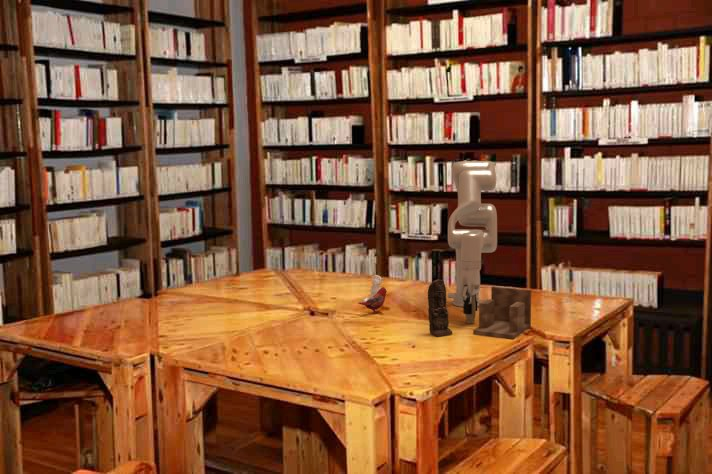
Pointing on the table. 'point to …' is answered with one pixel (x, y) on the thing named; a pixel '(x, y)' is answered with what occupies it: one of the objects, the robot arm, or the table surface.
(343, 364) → the table surface
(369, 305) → the decorative bird figurine
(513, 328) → the wooden stand
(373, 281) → the white creature statuette
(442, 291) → the statue
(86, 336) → the table surface
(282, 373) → the table surface
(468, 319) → the handle
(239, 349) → the table surface
